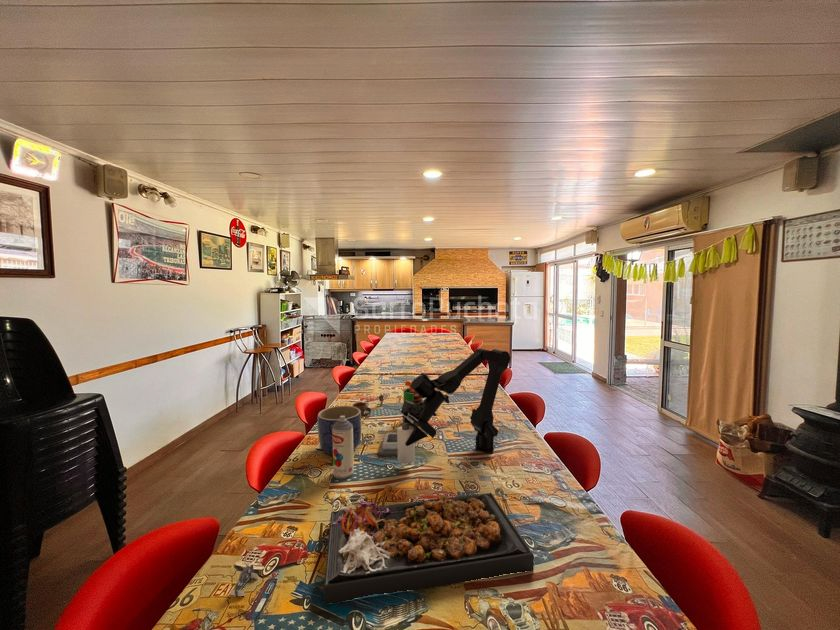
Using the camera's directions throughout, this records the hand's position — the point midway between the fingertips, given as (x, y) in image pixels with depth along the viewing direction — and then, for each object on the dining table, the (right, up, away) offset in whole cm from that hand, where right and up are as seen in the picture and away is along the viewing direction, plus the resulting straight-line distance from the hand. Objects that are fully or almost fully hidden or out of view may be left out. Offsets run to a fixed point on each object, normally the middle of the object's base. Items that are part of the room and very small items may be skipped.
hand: (402, 441), depth 124 cm
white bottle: (+1, -7, +1) cm, 7 cm away
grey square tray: (-3, -9, +17) cm, 20 cm away
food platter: (+7, -13, -36) cm, 39 cm away
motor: (+3, -7, +43) cm, 44 cm away
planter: (-25, -9, +17) cm, 31 cm away
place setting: (-21, -7, +60) cm, 64 cm away
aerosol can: (-20, -10, -2) cm, 23 cm away
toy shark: (-30, -14, -44) cm, 55 cm away
